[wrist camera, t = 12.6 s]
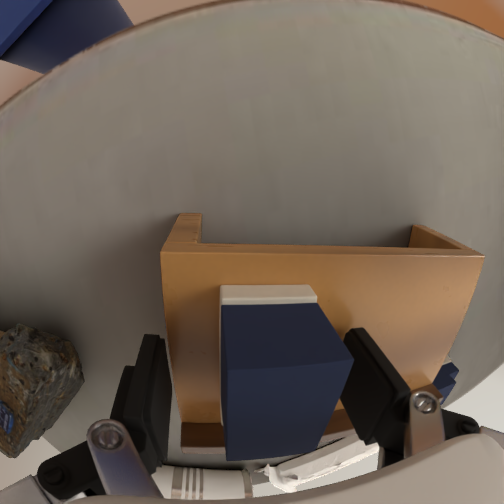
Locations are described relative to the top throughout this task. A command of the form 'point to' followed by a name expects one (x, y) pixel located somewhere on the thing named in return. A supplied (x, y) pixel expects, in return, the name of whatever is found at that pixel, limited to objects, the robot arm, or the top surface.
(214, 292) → the shoe shelf
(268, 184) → the top surface
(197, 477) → the striped cup with float
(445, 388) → the block
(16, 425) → the stone
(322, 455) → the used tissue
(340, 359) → the block
